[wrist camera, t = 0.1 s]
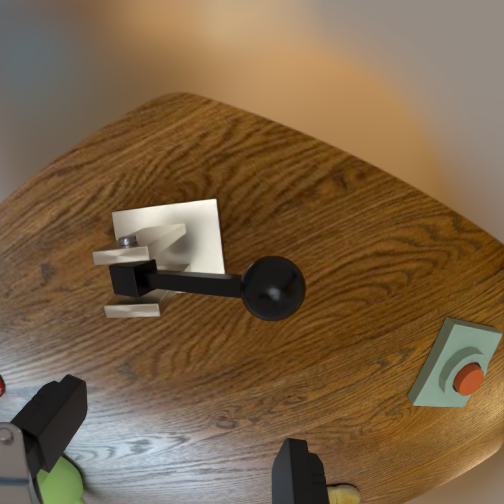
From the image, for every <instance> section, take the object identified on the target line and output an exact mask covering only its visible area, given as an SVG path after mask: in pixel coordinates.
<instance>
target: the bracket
mask: <svg viewBox="0 0 504 504" xmlns="http://www.w3.org/2000/svg"><path fill="white" fill-rule="evenodd" d="M112 216H113V223H114V230H115V236H116V241H114V242H112V243H110V244H108V245H106V246H104V247H101V248H99V249H97V250H95V251H93V252H92V253H93V259H94V264H95V265H104V264H116V263H127V262H139V261H150V260H151V259H156V265H157V269H158V270H172V271H187V272H202V273H219V274H227V272H226V264H225V256H224V247H223V238H222V230H221V221H220V212H219V202H218V198H213V199H204V200H195V201H187V202H179V203H171V204H163V205H156V206H148V207H141V208H134V209H127V210H121V211H115V212H112ZM177 293H186V292H179V291H170V290H162V289H156V290H154V291H151V292H149V293H147V294H145V295H143V296H141V297H139V298H136V297H130V296H125V295H119V294H117V295H116V296H115V297H113V298H112V299H111V300H110V301H109V302H108V303H106V304H105V305H104V308H105V312H106V316H107V318H118V317H137V318H140V317H156V316H161V315H162V313H163V312H164V311H165V309H166V308H167V306H168V305H169V304H170V302H171V301H172V299H173V298H174V297H175V295H176V294H177Z"/></svg>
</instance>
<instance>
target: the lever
mask: <svg viewBox="0 0 504 504" xmlns="http://www.w3.org/2000/svg"><path fill="white" fill-rule="evenodd" d="M109 270H110V275H111V280H112V284H113V289H114V293H115V294H119V295H125V296H130V297H136V298H139V297H141V296H143V295H145V294H147V293H149V292H151V291H154V290H156V289H162V290H170V291H179V292H187V293H196V294H206V295H215V296H225V297H235V298H241V299H242V301H243V304H244V305H245V307H246V308H247V310H248V311H249V312H250V313H251V314H252V315H254V316H255V317H257V318H259V319H261V320H265V321H281V320H284V319H287V318H288V317H290V316H292V315H293V314H294V313H295V312H296V311H297V310H298V309H299V308H300V306H301V305H302V303H303V301H304V298H305V294H306V283H305V279H304V276H303V274H302V272H301V270H300V269H299V268H298V267H297V265H296V264H294V263H293V262H292V261H290V260H289V259H287V258H284V257H280V256H265V257H262V258H259V259H257V260H256V261H254V262H253V263H252V264H250V265H249V266H248V268H247V269H246V270H245V272H244V274H243V275H236V274H219V273H202V272H187V271H172V270H158V269H157V265H156V259H151V260H150V261H139V262H127V263H116V264H113V265H110V266H109Z"/></svg>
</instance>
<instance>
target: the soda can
mask: <svg viewBox="0 0 504 504" xmlns="http://www.w3.org/2000/svg"><path fill="white" fill-rule="evenodd" d="M3 393H4V387H3V384H2V382H1V380H0V397H1V396H2V395H3Z"/></svg>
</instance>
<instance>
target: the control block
mask: <svg viewBox="0 0 504 504" xmlns="http://www.w3.org/2000/svg"><path fill="white" fill-rule="evenodd" d="M502 335H503V334H502V333H501V332H500V331H498V330H497V329H496V328H494V327H489V326H485V325H480V324H476V323H471V322H467V321H463V320H458V319H454V318H449V317H446V319H445V321H444V323H443V326H442V328H441V330H440V332H439V335H438V337H437V339H436V341H435V343H434V345H433V347H432V349H431V352H430V354H429V356H428V358H427V360H426V362H425V364H424V366H423V367H422V369H421V371H420V373H419V375H418V377H417V379H416V381H415V383H414V384H413V386H412V388H411V390H410V392H409V393H408V395H407V397H408V399H409V400H410V402H411V404H412V405H414V406H437V407H464V405H465V404H466V402H467V400H468V399H469V397H470V395H471V394H470V395H468V396H462V395H461V394H460V393H459V392H458V391H457V390H456V388H455V387H454V384H453V382H454V378H455V376H456V374H457V373H458V372H459V371H460V370H461V369H462V368H463V367H464V366H465V365H467V364H469V363H475V364H477V365H478V366H479V367H480V368H481V370H482V371H483V372H484V376H485V375H486V372H487V366H488V363H489V361H490V359H491V357H492V356H493V354H494V351H495V349H496V347H497V345H498V343H499V341H500V339H501V337H502Z"/></svg>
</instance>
